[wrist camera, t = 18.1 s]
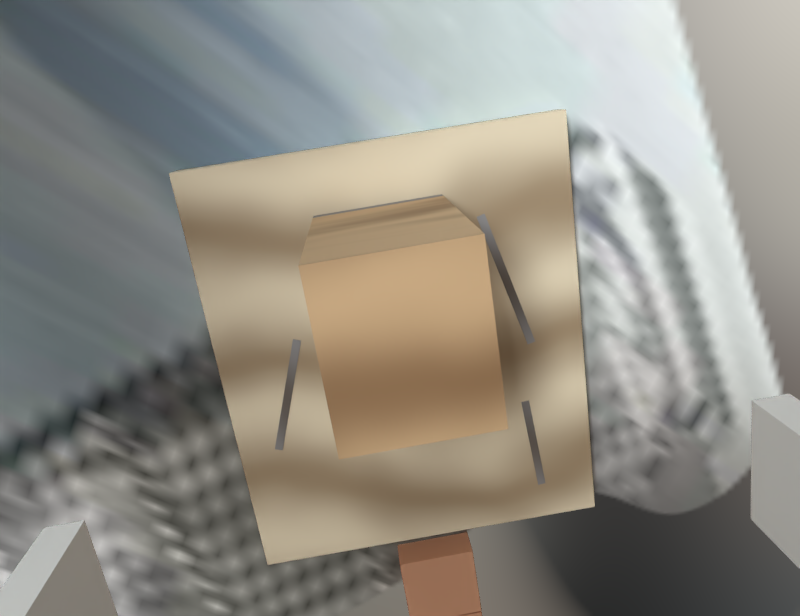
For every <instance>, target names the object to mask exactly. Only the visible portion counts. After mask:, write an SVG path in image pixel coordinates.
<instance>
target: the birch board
mask: <svg viewBox="0 0 800 616" xmlns="http://www.w3.org/2000/svg"><path fill="white" fill-rule="evenodd" d="M169 176H170V180H171V184H172V188H173V192H174V196H175V200H176V204H177V208H178V212H179V215H180V219H181V223H182V227H183V231H184V235H185V239H186V243H187V247H188V251H189V255H190V259H191V263H192V267H193V271H194V275H195V279H196V283H197V287H198V291H199V295H200V299H201V303H202V307H203V310H204V314H205V318H206V322H207V326H208V330H209V334H210V338H211V342H212V346H213V350H214V354H215V358H216V362H217V366H218V370H219V374H220V378H221V382H222V386H223V390H224V394H225V398H226V402H227V405H228V409H229V413H230V417H231V421H232V425H233V429H234V433H235V437H236V441H237V445H238V449H239V453H240V457H241V461H242V465H243V469H244V473H245V477H246V481H247V485H248V489H249V493H250V497H251V501H252V504H253V508H254V512H255V516H256V520H257V524H258V528H259V532H260V536H261V540H262V544H263V548H264V552H265V556H266V560H267V564H268V565H271V564H276V563H282V562H287V561H293V560H299V559H304V558H310V557H315V556H321V555H327V554H332V553H338V552H343V551H349V550H355V549H360V548H366V547H371V546H377V545H383V544H388V543H394V542H399V541H405V540H411V539H416V538H422V537H427V536H433V535H439V534H444V533H450V532H455V531H461V530H467V529H472V528H478V527H483V526H488V525H495V524H499V523H505V522H511V521H517V520H522V519H528V518H533V517H539V516H545V515H551V514H556V513H562V512H567V511H573V510H578V509H584V508H590V507H594V506H595V502H594V488H593V474H592V461H591V447H590V433H589V419H588V406H587V392H586V378H585V365H584V351H583V337H582V323H581V310H580V296H579V282H578V269H577V255H576V241H575V227H574V214H573V200H572V186H571V173H570V159H569V145H568V131H567V118H566V110H561V109H557V110H551V111H545V112H539V113H533V114H526V115H520V116H514V117H508V118H501V119H495V120H489V121H483V122H476V123H470V124H464V125H458V126H452V127H445V128H439V129H433V130H427V131H420V132H414V133H408V134H402V135H395V136H389V137H383V138H377V139H370V140H364V141H358V142H352V143H346V144H339V145H333V146H327V147H321V148H314V149H308V150H302V151H296V152H289V153H283V154H277V155H271V156H265V157H258V158H252V159H246V160H240V161H233V162H227V163H221V164H215V165H208V166H202V167H196V168H190V169H183V170H177V171H174V172H171V173H169ZM440 194H442V195H443V196H444V197H445V198H446V199H448V200H449V201H450V202H451V203H452V204H453V205H454V206H455V207H456V208H457V209H458V210H459V211H461V212H462V213H463V214H464V215H465V216H466V217H467V218H468V219H469V220H470V221H471V222H472V223H474V224H475V225H476V226H477V227H478V228H479V229H480V230H481V231H482V232H483V233H484V234H485V240H486V248H487V256H488V265H489V273H490V281H491V289H492V298H493V306H494V314H495V322H496V331H497V339H498V347H499V356H500V364H501V372H502V380H503V389H504V397H505V405H506V414H507V422H508V429H506V430H500V431H495V432H489V433H484V434H478V435H473V436H467V437H461V438H456V439H450V440H445V441H439V442H434V443H428V444H423V445H417V446H412V447H406V448H400V449H395V450H389V451H384V452H378V453H373V454H367V455H362V456H356V457H350V458H345V459H339V457H338V453H337V448H336V443H335V438H334V434H333V429H332V424H331V419H330V415H329V410H328V405H327V400H326V396H325V391H324V386H323V381H322V376H321V372H320V367H319V362H318V357H317V353H316V348H315V343H314V338H313V334H312V329H311V324H310V319H309V314H308V310H307V305H306V300H305V295H304V291H303V286H302V281H301V276H300V272H299V267H298V265H299V262H300V259H301V255H302V252H303V249H304V245H305V242H306V239H307V235H308V232H309V229H310V225H311V222H312V219H313V216H316V215H322V214H328V213H334V212H340V211H345V210H351V209H357V208H363V207H369V206H375V205H381V204H387V203H393V202H398V201H404V200H410V199H416V198H422V197H428V196H434V195H440Z"/></svg>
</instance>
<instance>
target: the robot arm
mask: <svg viewBox="0 0 800 616" xmlns="http://www.w3.org/2000/svg"><path fill="white" fill-rule="evenodd" d="M751 520H752V521H753V522H754V523H755V524H756V525H757V526H758V527H759V528H760V529H761V530H762V531H763V532H764V533H765V534H766V535H767V536H768V537H769V538H770V539H771V540H772V541H773V542H774V543H775V544H776V545H777V546H778V547H779V548H780V549H781V550H782V551H783V552H784V553H785V554H786V556H788V558H790V560H791V561H792V562H793V563H794V564H795V565H796V566H797V567H798V568H799V569H800V400H798V399H797V398H795V397H794V396H792V395H791V394H785V395H779V396H774V397H768V398H763V399H757V400H752V419H751ZM0 616H118V615H117V612H116V609H115V606H114V603H113V600H112V598H111V595H110V592H109V589H108V586H107V583H106V580H105V578H104V575H103V572H102V569H101V566H100V563H99V561H98V558H97V555H96V552H95V549H94V546H93V543H92V541H91V538H90V535H89V532H88V529H87V526H86V523H85V521H78V522H73V523H67V524H61V525H56V526H50V527H45V528H44V529H43V530H42V531H41V533H40V534H39V536H38V537H37V538H36V540H35V541H34V543H33V544H32V546H31V547H30V548H29V550H28V551H27V553H26V554H25V555H24V557H23V558H22V560H21V561H20V562H19V564H18V565H17V567H16V568H15V570H14V571H13V572H12V574H11V575H10V577H9V578H8V579H7V581H6V582H5V584H4V585H3V587H2V588H1V589H0Z"/></svg>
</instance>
